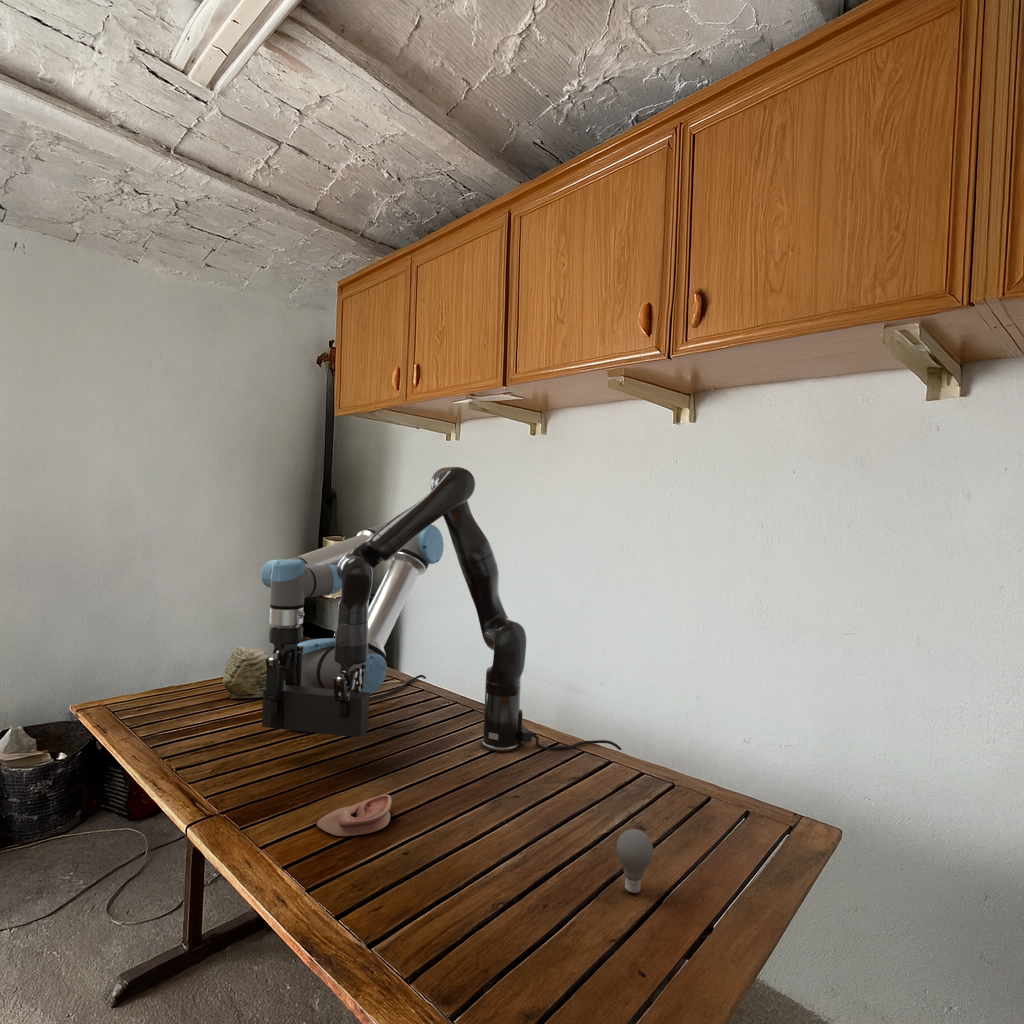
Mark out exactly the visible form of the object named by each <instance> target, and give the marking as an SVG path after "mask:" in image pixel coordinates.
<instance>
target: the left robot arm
mask: <svg viewBox="0 0 1024 1024" xmlns="http://www.w3.org/2000/svg"><path fill="white" fill-rule="evenodd" d="M387 523H388V522H385V523H380V524H378V525H375V526H372V527H369V528H365V529H363V530H360V531H359V532H358V533H357V534H356V536H353V537H349V538H347V539H345V540H342V541H339V542H335V543H333V544H330V545H327V546H324V547H321V548H318V549H315V550H313V551H309V552H306V553H304V554H300V555H298V556H294V557H291V558H288V559H285V558H283V559H272V560H269V561H267V562H266V563H265V564H264V565H263V566H262V568H261V571H260V578H261V582H262V584H263V585H264V586H265V587H267V588H268V589H269V588H270V596H269V597H270V600H269V601H270V602H269V604H270V605H269V620H268V621H269V622H268V623H269V625H270V627H269V628H268V642H269V643H270V644H272V645H273V650H272V656H269V657H267V658H266V666H267V674H266V700H271V727H273V728H272V729H275V728H283V713H284V700H283V699H282V694H283V688H284V681H285V685H294V686H304V687H315V688H325V689H334V683H333V679H334V677H339V672H340V668H341V665H340V664H339V663H337V662H336V661H335V659H334V658H335V637H333V638H332V637H329V638H328V637H327V638H313V639H308V640H304V639H303V638H304V637H303V636H304V626H303V625H302V624H304V616H305V612H304V607H305V599H309V598H314V597H322V596H331V595H334V594H337V593H339V592H341V591H342V580H341V579H340V578H339V576H338V574H337V565H338V563H339V561H340V560H341V559H342V558H343V557H344V556H345V555H346V554H347V553H349V552H350V551H351V550H353V549H354V548H356V547H357V546H359V545H360V544H362V543H364V542H365V541H367V540H368V539H369V538H371V537H372V536H373V535H374V534H375V533H376V532H377V531H378V530H379V529H381V528H382V527H383V526H384V525H385V524H387ZM444 547H445V545H444V537H443V534H442V532H441V531H440V528H438V527H437V526H436V525H434V524H431V525H430V526H428V527H427V528H426V529H425V530H423V531H422V532H421V533H420V534H419V535H417V536H416V537H415V538H414V539H413V540H412V541H411V542H409V543H408V544H407V545H406V546H405V547H404V548H403V549H401V550H400V551H399V552H398V553H397V554H396V555H395V556H393V557H392V558H391V559H389V561H390V562H391V563H390V565H389V567H388V569H387V571H386V573H385V574H384V577H383V579H382V581H381V583H380V585H379V586H378V588H377V590H376V592H375V594H374V596H373V598H372V601H371V602H370V604H369V605H368V606H369V611H368V628H369V638H368V659H367V661H366V662H364V663H363V664H366V666H367V667H366V674H365V681H364V688H363V689H361V692H367V693H370V695H369V701H372V700H377V699H380V698H383V697H386V696H390V695H391V694H394V693H397V692H398V691H400V690H402V689H404V688H405V687H406V686H407V685H409V684H410V683H413V682H414V681H416V680H418V679H420V678H422V679H423V680H424V679H427V677H426V675H423V674H418V675H416V676H414V677H413V678H410V679H409V680H407V681H405V682H404V683H403V684H402V685H400V686H398V687H396V688H394V689H391V690H389V691H388V692H385V693H381V694H377V695H374V694H375V693H376V692H377V691H378V690H380V688H381V687H382V685H383V684H384V682H385V679H386V676H387V669H388V666H387V665H388V664H387V662H386V660H385V658H386V656H387V654H386V651H385V645H386V644H387V641H388V639H389V637H390V635H391V634H392V631H393V629H394V626H395V625H396V623H397V620H398V618H399V616H400V614H401V612H402V610H403V608H404V606H405V603H406V602H407V600H408V597H409V595H410V593H411V591H412V589H413V587H414V585H415V582H416V580H417V578H418V576H421V575H424V574H425V573H426V572H427V570H428V567H429V565H434V564H437V563H439V562H440V561H441V559H442V558H443V554H444V549H445V548H444ZM303 640H304V641H303ZM357 681H358V680H357ZM346 688H349V686H346ZM300 732H301V733H305V732H304V731H300Z"/></svg>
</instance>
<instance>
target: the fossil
mask: <svg viewBox="0 0 1024 1024" xmlns="http://www.w3.org/2000/svg"><path fill="white" fill-rule="evenodd" d="M267 657H270V656H269V655H268V654H267V653H266V652H265V650H264V649H263V648H260V647H258V648H251V647H247V646H246V647H245V646H238V647H237V648H236V649H235V650H233V651H232V653H231V656H230V657H229V659H228V660H227V663H226V666H225V668H224V671H223V675H222V676H223V677H222V685H223V687H224V688H225V690H226V691H228V693H229V698H230V699H250V698H263V689H265V688H266V674H267V666H266V658H267ZM284 685H285V681H284Z"/></svg>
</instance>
